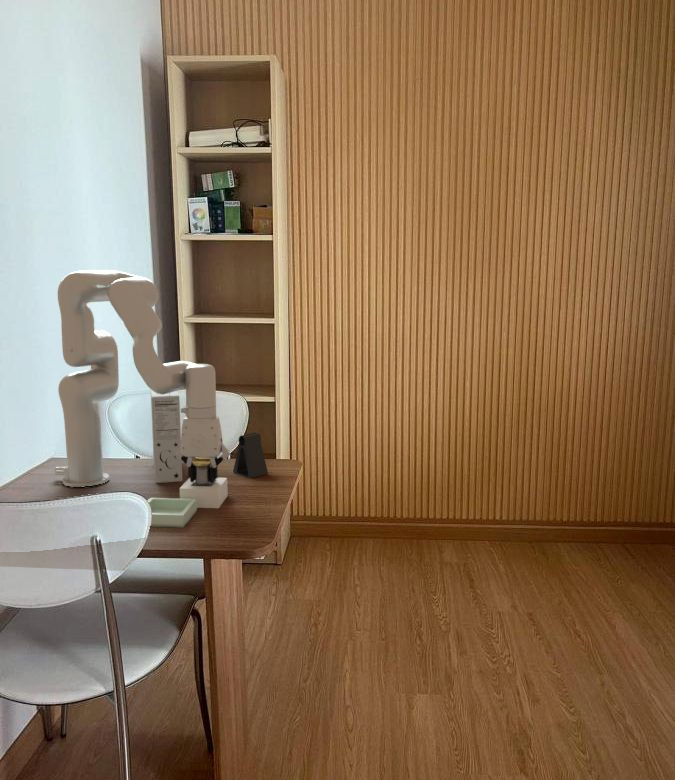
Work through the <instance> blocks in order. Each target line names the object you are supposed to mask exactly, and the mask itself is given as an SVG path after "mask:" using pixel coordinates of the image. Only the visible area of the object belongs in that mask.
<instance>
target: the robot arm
mask: <svg viewBox="0 0 675 780" xmlns="http://www.w3.org/2000/svg"><path fill="white" fill-rule="evenodd" d="M158 301H159V291H158V288H157V286H156V285H155V283H154V282H153V281H152V280H150V279H148V278H147V277H143V276H138V275H135V274H131V273H127V272H124V271H123V272H122V271H118V270H112V269H111V270H110V269H109V270H108V269H105V270H104V269H102V270H101V269H100V270H98V269H97V270H96V269H94V270H93V269H92V270H91V269H90V270H88V269H87V270H78V271H73V272H70V273H68V274H67V275H65V276H64V277H63V278H62V279H61V280H60V283H59V284H58V288H57V302H58V307H59V311H60V312H59V313H60V319H61V322H60V324H61V326H60V327H61V345H62V347H61V349H62V355H63V360H64V362H65V363H66V364H67V365H68V366H69V367H73V368H84V367H89V366H90V369H88V370H87V369H85V370H80V371H74V372H71V373H69V374H66V375H65V376H64V377H63V378H62V379H61V380H60V381H59V384H58V391H57V392H58V396H59V400H60V404H61V407H62V412H63V413H62V414H63V420H64V421H63V422H64V432H65V433H64V435H65V450H66V466H55V468H54V473H55V475H56V476H64V478H62V485H63V484H64V485H63V486H65V487H67V486H70V487H69V488H73V487H82V486H89V485H90V486H91V485H97V484H101V483H104V484H106V483H107V481H108V480H109V481H110V475H109V474H108V473H107V472H104V460H103V445H102V443H103V442H102V426H101V419H100V415H99V413H98V410H97V409H96V407H95V406H94V404H97V403H100V402H101V403H102V402H105V401H107V400H110V399H112V398H114V397H115V396H116V395H117V393H118V389H119V382H120V380H119V379H120V376H119V351H118V345H117V342H116V340H115V338H114V336H113V335H112V334H110V333H109V332H107V331H106V330H98V329H96V330H95V317H94V314H93V312H92V309H91V307H90V306H89V305H88V304H89V303H97V302H98V303H101V302H103V303H104V302H109V303H110V304H111V306H112V308H113V309H114V311H115V312H116V314H117V316H118V317H119V319H120V321H121V322H122V323H123V326H125V328H126V329H127V331H128V333H129V335H130V336H131V338H132V342H133V343H132V357H133V364H134V366H135V369H136V370H137V372H138V374H139V375H140V377H141V378H142V380H143V382H144V383H145V385H146V386H147V387H148V388H149V390H150V391H151V390H152V391H154V392H155V393H158V394H167V393H171V392H175V391H178V392H179V391H183V390H185V401H186V402H185V403H186V404H185V406H184V407H180V414H181V413H183V414H185V417H183V418H182V419H183V420H182V423H181V445H180V446H179V448H178V449H177V450H176V452H175V455H176V456H177V457H179V458H180V459H181V460H182V463H184V464H185V465H186V467H187V471H188V472H187V474H188V475H187V477H188V479H189V478H190V482H194V480H195V465H192V459H193V457H205V458H210V460H211V468H210V482H211V483H213V482H214V481H215V480H216V479H217V478H219V477H218V476H219V475H218V466H219V465H220V464H221V463H222V462H223V461H225V460H226V459H227V458H229V457H230V456H231V453H230V450H228V448H227V447H226V446H225V444H224V443H223V431H222V427H221V421H220V418H219V416H217V393H216V391H217V390H216V389H217V387H216V385H217V384H216V369H215V367H214V365H212V364H210V363H209V364H208V363H194V362H191V361H187V360H178V361H177V360H176V361H171V362H166V363H163V362H162V360H161V359H160V357H159V356H158V354H157V352H156V350H155V348H154V343H153V342H154V337H156V336H157V334H159V333H160V331H161V330H162V328H163V323H162V320H161V319H160V318H159V316H158V315H157V313H156V311H155V309H153V307H155V305H156V304H157V303H158ZM221 453H222V454H221ZM218 456H219V457H218ZM109 481H108V482H109ZM105 482H106V483H105ZM101 485H102V484H101Z"/></svg>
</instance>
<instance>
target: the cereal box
mask: <svg viewBox="0 0 675 780" xmlns="http://www.w3.org/2000/svg"><path fill="white" fill-rule="evenodd" d="M150 404H151V406H150V408H151V409H150V411H151V429H152V431H151V432H152V450H153V451H152V453H153V455H152V456H153V468H154V469H153V470H154V471H153V472H154V482H155V484H164V483H180V482H183V464H182V463H183V461H182V460H181V459H180V458H179V457H177V456H176V455H175V452H176V450H177V449H178V448H179V446H180V445H181V432H182V427H181V407H180V406H181V403H180V394H179V391H175V392H171V393H167V394H158V393H155V392H154V391H152V390H151V389H150Z"/></svg>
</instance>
